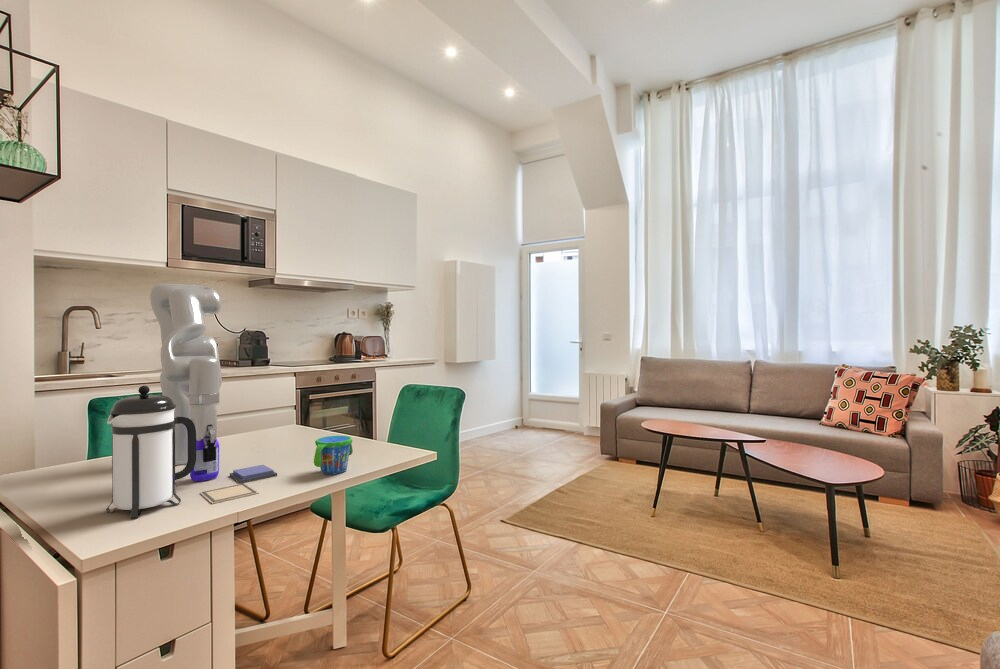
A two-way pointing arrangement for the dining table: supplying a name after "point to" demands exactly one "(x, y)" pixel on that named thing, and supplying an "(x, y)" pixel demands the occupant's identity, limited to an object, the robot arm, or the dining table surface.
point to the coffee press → (146, 451)
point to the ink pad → (252, 473)
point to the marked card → (228, 493)
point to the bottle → (205, 464)
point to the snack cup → (333, 454)
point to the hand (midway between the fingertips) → (204, 458)
